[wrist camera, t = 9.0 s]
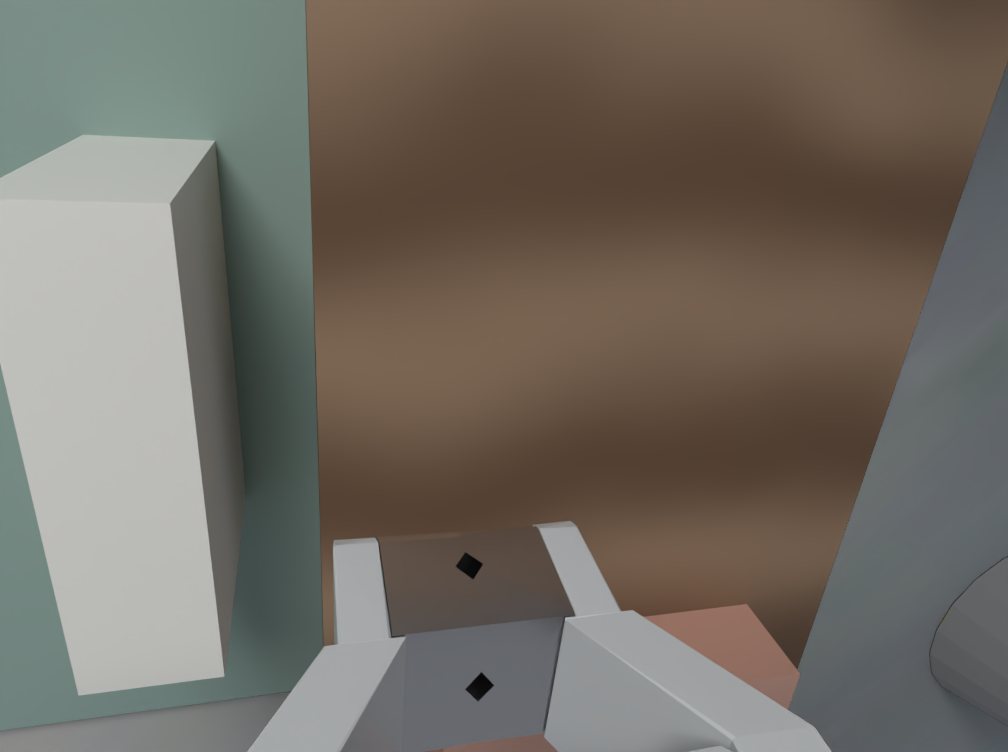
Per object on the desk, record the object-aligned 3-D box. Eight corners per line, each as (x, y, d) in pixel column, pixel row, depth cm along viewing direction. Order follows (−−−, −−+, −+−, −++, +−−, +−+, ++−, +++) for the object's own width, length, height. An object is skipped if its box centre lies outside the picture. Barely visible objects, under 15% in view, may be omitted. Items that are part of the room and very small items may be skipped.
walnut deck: (300, -172, 14) (299, -238, 10) (910, -75, 17) (1063, -100, 14) (325, 721, 24) (329, 841, 20) (706, 665, 27) (765, 759, 24)
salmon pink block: (419, 801, 20) (433, 894, 18) (427, 643, 18) (445, 729, 16) (704, 750, 23) (746, 828, 21) (746, 604, 20) (800, 674, 18)
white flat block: (215, 141, 15) (83, 134, 15) (170, 203, 10) (-39, 198, 9) (245, 496, 19) (141, 504, 18) (224, 676, 14) (78, 695, 13)
